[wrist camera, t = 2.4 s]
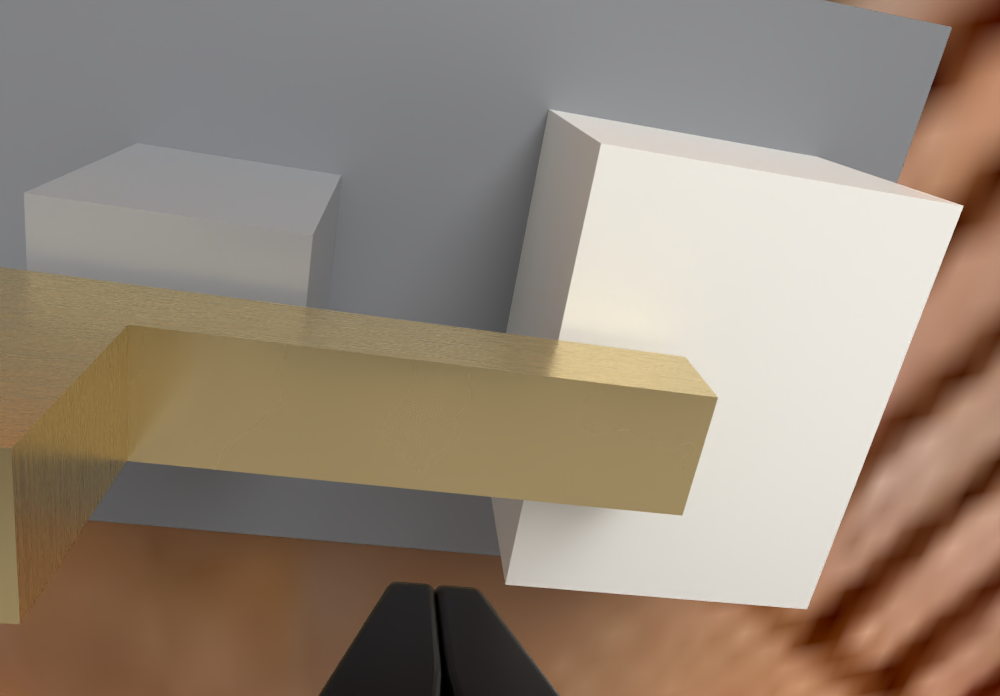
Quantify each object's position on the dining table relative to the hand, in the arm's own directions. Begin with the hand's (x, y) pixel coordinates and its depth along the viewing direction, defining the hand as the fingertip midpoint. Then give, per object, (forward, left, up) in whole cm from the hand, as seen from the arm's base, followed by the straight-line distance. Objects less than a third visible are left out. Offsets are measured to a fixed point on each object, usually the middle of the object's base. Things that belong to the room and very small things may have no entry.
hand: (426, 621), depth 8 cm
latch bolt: (0, +2, -5) cm, 6 cm away
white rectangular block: (0, -5, -11) cm, 12 cm away
